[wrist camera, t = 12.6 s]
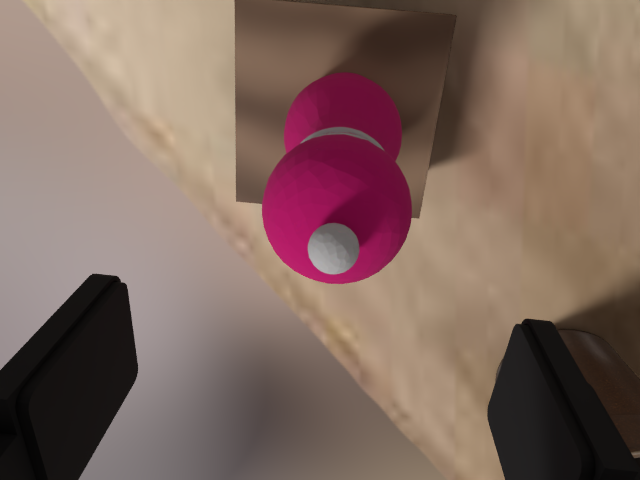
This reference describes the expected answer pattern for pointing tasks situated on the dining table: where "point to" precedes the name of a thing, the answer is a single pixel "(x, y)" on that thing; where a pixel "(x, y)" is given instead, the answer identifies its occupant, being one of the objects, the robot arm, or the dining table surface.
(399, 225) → the pepper mill
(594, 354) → the plant pot
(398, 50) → the wooden stool
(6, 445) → the robot arm
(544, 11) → the dining table surface
